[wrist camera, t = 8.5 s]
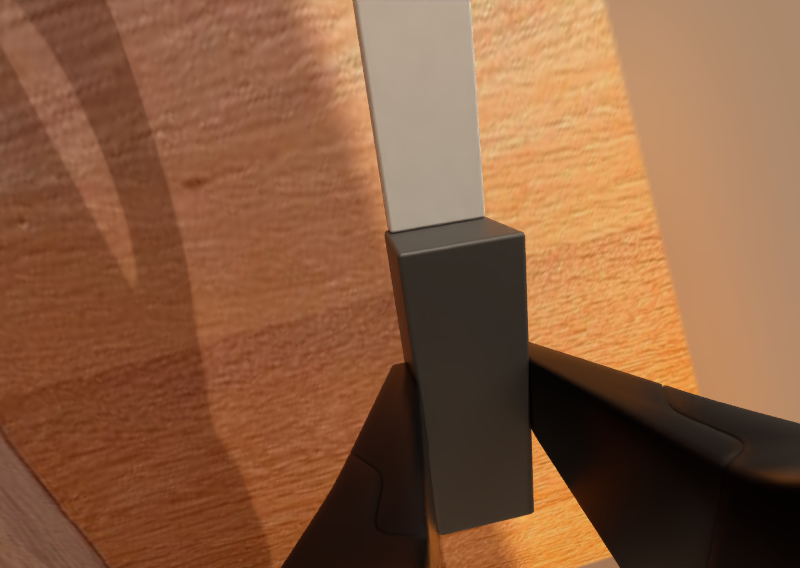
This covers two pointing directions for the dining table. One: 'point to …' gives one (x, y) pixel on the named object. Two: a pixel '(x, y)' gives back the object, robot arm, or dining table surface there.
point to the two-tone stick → (450, 260)
